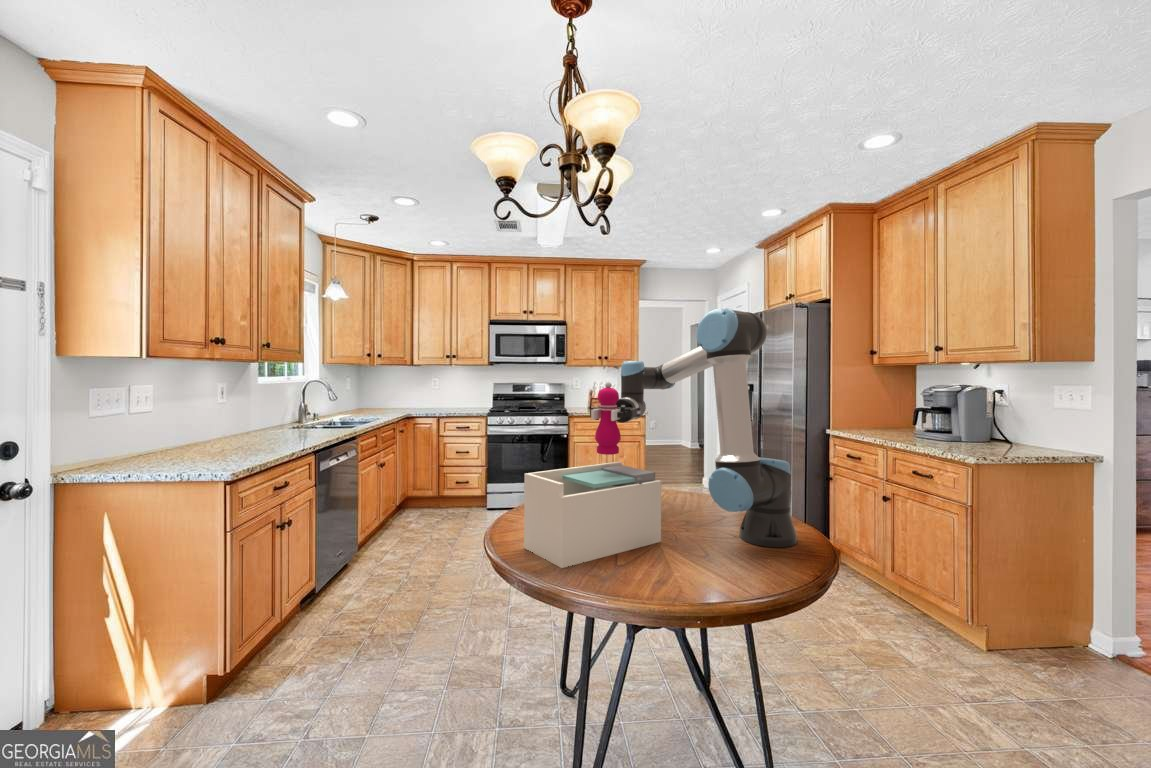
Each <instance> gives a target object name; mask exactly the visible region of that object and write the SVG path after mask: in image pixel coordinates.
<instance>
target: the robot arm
mask: <svg viewBox="0 0 1151 768" xmlns="http://www.w3.org/2000/svg"><path fill="white" fill-rule="evenodd" d="M767 335H768V330H767V326H766V323H765V321H764V320H763V319H762V318H761V317H760V316H759V315H757V314H755V313H754V312H753V313H752V312H749V311H748V312H747V311H741V310H734V309H730V308H716V309H713V310H709V312H707V313H705V315H703V317H702V319H700V321H699V323H698V324H697V329H696V334H695V336H696V341H697V344H698V346H697V347H695V348H693V349H690V350H689V351H687V352H685V353H682V354H680V355H679V356H677V357H674V358H672V359H670V360H668V361H666V362H665V363H663V364H660V365H658V366H656V367H655V366H653V367H652V366H649V367H648V366H645V363H644V361H641V360H624V361H622V363H621V370H620V387H621V388H620V398H619V400H618V402H617V403H616V405H617V410H612V411H611V421H615V420H616V423H621V424H622V423H623V424H624V423H625V424H629V422H630V421H633V420H638V419H639V418H641V417H642V416H643V415H644V414H645V412H646V409H647V404H646V403H645V400H644V397H645V396H644V394H645V392H644V390H668V389H672V388H673V387H674V386H675V385H676V383H678V382H680V381H682V380H684V379H686V378H689V377H692V376H694V375H696V374H698V373H700V372H702V371H705V370H707V369H709V368H712V367H713V369H712V370H713V378H714V379H713V382H714V392H715V394H714V395H715V403H716V404H715V405H716V417H717V418H716V419H717V428H718V442H719V451H720V452H719V455H718V456H717V457H716V458H715V460H714V462H715V464H714V465H715V470H714V471H713V472H711V475H710V476H709V478H708V483H707V484H708V492H709V495H710V496H711V499H712V500H713V502H714V503H715V504H717V505H718V507H719V508H721V509H722V510H724V511H727V512H729V513H730V512H731V513H737V512H745V513H744V516H743V518H742V521H741V525H740V528H739V537H740V538H741V540H743V541H744V542H747V543H750V544H753V545H755V546H756V545H757V546H761V547H768V548H788V547H792V546H794V545H796V544H797V532H796V528H795V525H794V522H793V519H792V516H791V487H792V486H791V482H792V481H791V480H792V479H791V478H792V477H791V476H792V472H791V464H790V463H789V462H788V461H786V460H782V459H775V458H768V457H761V456H760V457H759V456H758V455H757V454H756V453H755V452H754V443H753V442H754V441H753V430H752V420H751V418H752V417H751V408H750V398H749V397H750V396H749V386H748V385H749V384H748V383H749V382H748V373H747V362H748V361H749V360H750V359H751V358H752V353H755V352H757V351H758V350H760V348H762V347H763V345H764V344H765V342H766V339H767ZM599 408H600V406H599V405H598V406H596V407H590V408H589V417H590V421H600V419H601V410H599Z"/></svg>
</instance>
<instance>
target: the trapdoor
mask: <svg viewBox="0 0 1151 768" xmlns="http://www.w3.org/2000/svg"><path fill="white" fill-rule="evenodd" d="M638 478H642V479H643V483H645V482H651V481H656V472H654V471H650V470H645V469H641V468H636V467H632V466H626V465H624V464H622V465H620V466H612V467H605V468H602V470H600V471H592V472H585V473H577V474H570V475H563V479H564V480H568V481H571V482H575V483H578V484H582V485H585V486H589V487H592V488H598V487H604V486H610V485H611V486H615V487H620V486H626V485H633V484H638V483H637V479H638Z"/></svg>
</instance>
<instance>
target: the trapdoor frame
mask: <svg viewBox="0 0 1151 768" xmlns="http://www.w3.org/2000/svg"><path fill="white" fill-rule="evenodd" d="M620 465H623V462H622V461H613V462H607V463H606V462H605V463H604V462H603V463H599V464H598V463H597V464H591V465H589V464H588V465H581V466H575V467H567V468H558V469H557V468H556V469H550V470H549V469H548V470H543V471H542V470H541V471H535V472H528V473H527V472H526V473H524V487H523V489H524V490H523V492H524V493H523V494H524V495H523V496H524V497H523V498H524V499H523V500H524V501H523V503H524V505H523V506H524V508H523V509H524V510H523V512H524V513H523V516H524V517H523V519H524V520H523V521H524V522H523V533H524V534H523V548H524V549H525V550H527V551H528V550H529V551H528V552H530V551H531V553H532V552H533V554H534V555H536V556H537V557H540V558H542V559H544V560H545V559H546V560H545V561H547V562H549V563H551V564H553V565H555V566H557V567H558V568H560V569H565V568H568V566H569V567H571V566H572V565H573V566H576V565H580V564H583V562H584V563H586V562H587V563H588V562H590V561H595V560H599V559H602V558H605V557H609V556H613V555H617V554H621V553H623V552H625V553H626V552H627V551H631V550H632V551H633V550H635V549H638V548H639V549H640V548H642V547H646V546H649V545H653V544H657V543H660V542H662V540H661V539H662V538H661V537H662V534H661V533H662V480H659V479H658V480H655V481H651V482H645V483H643V479H642V478H638V479H637V483H638V484H633V485H626V486H620V487H615V486H611V485H610V486H604V487H598V488H592V487H589V486H585V485H582V484H578V483H575V482H571V481H568V480H564V479H563V475H570V474H577V473H585V472H592V471H600V470H602V468H605V467H612V466H620Z"/></svg>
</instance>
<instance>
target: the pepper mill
mask: <svg viewBox="0 0 1151 768" xmlns="http://www.w3.org/2000/svg"><path fill="white" fill-rule="evenodd" d="M604 386H605V387H604V388H601V389H599V391H598V393H597V401H598V402H599V405H598V407H599V406H600V408H599V410H601V418H599V423H598V426H597V427H596V431H595V435H594V436H595V437H594V438H595V439H594V440H595V441H596V443H597V444H598V445H597V446H596V453H597V454H600V455H607V456H608V455H610V456H611V455H618V454H619V453H620V447H619V446H618V444H619V443H620V442H621V439H622V437H621V432H620V429H619V426H618V422H617V421H616V420H615V421H611V411H612V410H617V405H616V403H617V402H618V400H619V399H620V395H619V392H618V390H617V389H615V388H613V387H612V386H613V385H612V382H610V381H607V382H605V385H604Z"/></svg>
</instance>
